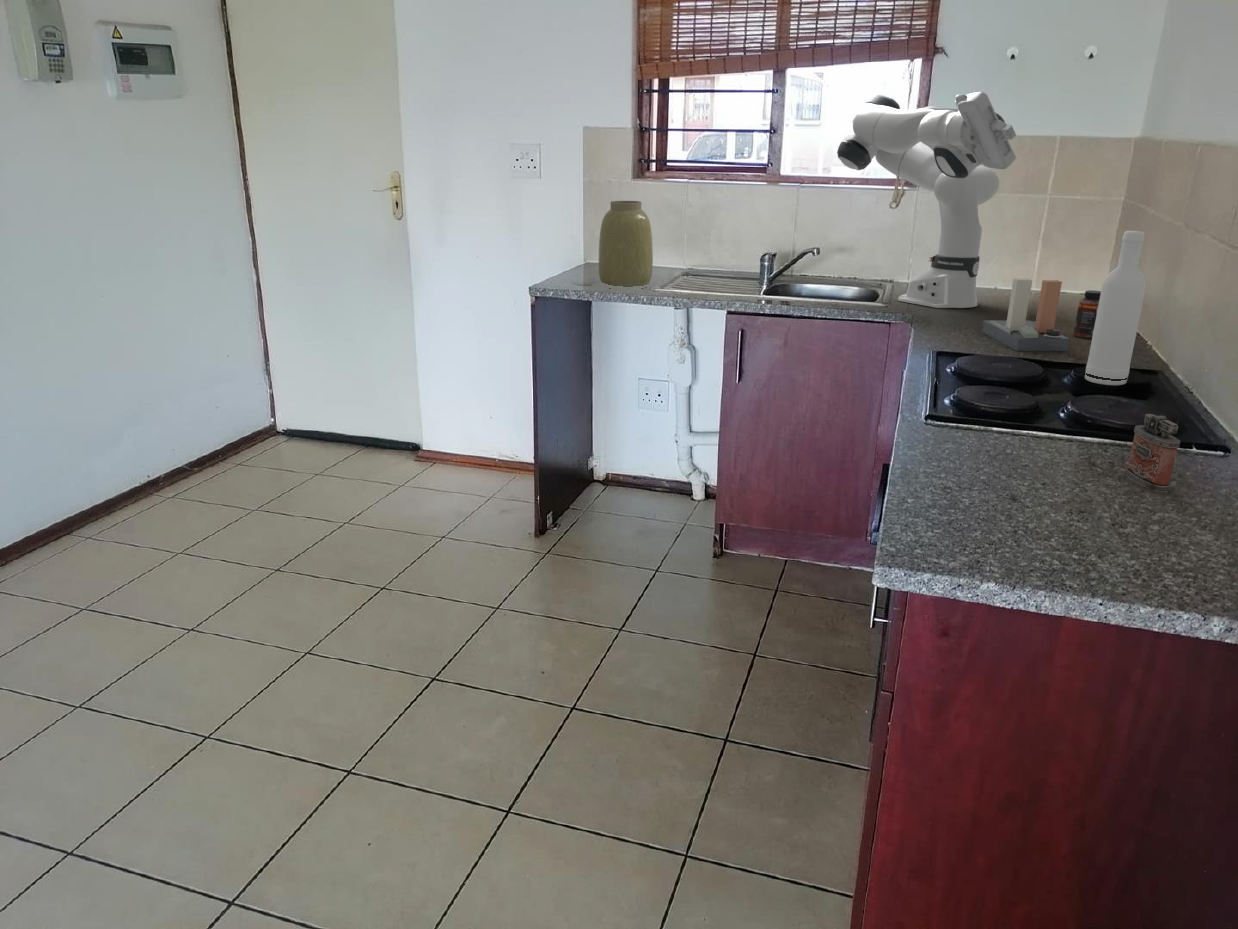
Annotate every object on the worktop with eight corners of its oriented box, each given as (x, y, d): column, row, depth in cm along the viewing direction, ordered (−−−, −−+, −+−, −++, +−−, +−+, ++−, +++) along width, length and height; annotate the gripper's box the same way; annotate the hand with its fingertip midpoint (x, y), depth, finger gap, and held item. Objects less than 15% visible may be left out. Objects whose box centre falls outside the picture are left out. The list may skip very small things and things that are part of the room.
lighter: (1119, 472, 137) (1132, 409, 133) (1140, 471, 137) (1154, 408, 134) (1152, 492, 129) (1167, 425, 126) (1175, 491, 130) (1190, 425, 126)
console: (981, 332, 231) (984, 314, 230) (1028, 332, 232) (1031, 315, 230) (1016, 351, 212) (1019, 332, 210) (1067, 351, 212) (1070, 332, 210)
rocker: (1018, 330, 214) (1019, 326, 214) (1030, 330, 214) (1032, 326, 214) (1024, 337, 211) (1025, 333, 210) (1037, 337, 211) (1038, 333, 210)
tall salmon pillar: (1034, 330, 218) (1042, 280, 214) (1048, 330, 218) (1057, 280, 214) (1038, 332, 216) (1047, 281, 212) (1053, 332, 216) (1061, 281, 212)
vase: (593, 285, 297) (593, 200, 288) (644, 283, 301) (645, 199, 292) (605, 294, 281) (605, 204, 272) (658, 292, 285) (660, 203, 276)
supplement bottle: (1102, 339, 224) (1111, 293, 220) (1076, 338, 225) (1084, 292, 221) (1095, 334, 229) (1104, 289, 225) (1070, 333, 230) (1078, 288, 226)
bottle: (1123, 377, 189) (1153, 230, 179) (1130, 387, 182) (1161, 234, 172) (1081, 374, 192) (1108, 228, 181) (1086, 383, 185) (1115, 232, 174)
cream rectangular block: (1005, 328, 220) (1013, 278, 216) (1019, 328, 220) (1027, 278, 216) (1009, 330, 218) (1017, 280, 214) (1024, 330, 218) (1032, 280, 214)
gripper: (962, 85, 217) (1004, 85, 205) (994, 153, 227) (1037, 157, 215) (943, 103, 216) (985, 104, 205) (976, 170, 227) (1018, 175, 215)
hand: (1012, 132), depth 210 cm, fingers closed
